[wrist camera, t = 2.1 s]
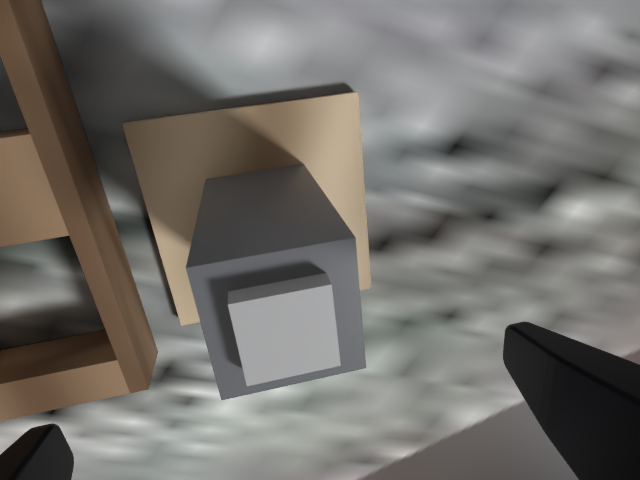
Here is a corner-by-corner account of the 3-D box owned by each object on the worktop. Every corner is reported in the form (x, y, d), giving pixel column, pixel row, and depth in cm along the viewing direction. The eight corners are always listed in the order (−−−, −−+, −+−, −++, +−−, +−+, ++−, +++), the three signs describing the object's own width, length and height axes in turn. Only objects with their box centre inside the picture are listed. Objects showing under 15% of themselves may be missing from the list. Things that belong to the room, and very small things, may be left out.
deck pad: (354, 91, 17) (357, 92, 17) (368, 283, 21) (371, 288, 20) (124, 121, 16) (121, 123, 15) (182, 319, 20) (181, 325, 19)
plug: (303, 163, 17) (362, 247, 10) (314, 250, 19) (372, 383, 11) (205, 179, 17) (183, 280, 9) (225, 267, 18) (221, 417, 11)
